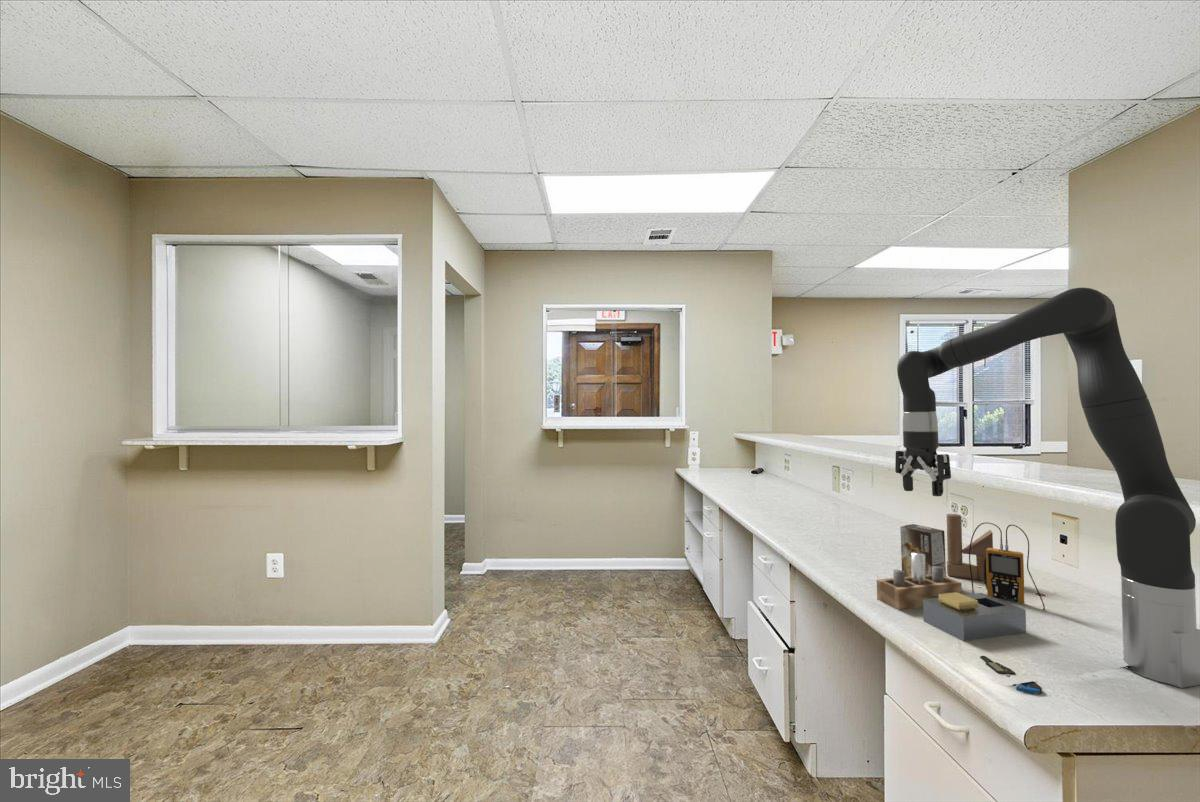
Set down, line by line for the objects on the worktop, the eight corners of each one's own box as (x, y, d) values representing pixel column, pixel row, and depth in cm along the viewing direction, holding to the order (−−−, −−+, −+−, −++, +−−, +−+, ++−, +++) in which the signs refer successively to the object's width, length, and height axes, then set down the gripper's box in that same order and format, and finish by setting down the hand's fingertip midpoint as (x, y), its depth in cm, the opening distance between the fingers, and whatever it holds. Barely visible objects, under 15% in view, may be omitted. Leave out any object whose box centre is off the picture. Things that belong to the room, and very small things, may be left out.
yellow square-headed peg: (957, 620, 112) (956, 592, 112) (978, 630, 107) (977, 600, 107) (939, 623, 111) (938, 594, 111) (959, 632, 106) (958, 602, 106)
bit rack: (937, 596, 130) (936, 562, 130) (962, 606, 123) (961, 570, 123) (877, 603, 126) (876, 568, 126) (898, 614, 119) (898, 577, 120)
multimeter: (966, 605, 124) (963, 525, 124) (971, 593, 132) (968, 519, 132) (1044, 621, 114) (1041, 535, 114) (1044, 608, 122) (1042, 527, 122)
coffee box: (948, 588, 135) (946, 530, 135) (933, 592, 133) (931, 533, 133) (914, 578, 144) (913, 523, 144) (900, 582, 141) (899, 525, 141)
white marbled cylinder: (929, 602, 124) (928, 554, 124) (919, 603, 123) (918, 555, 123) (919, 598, 126) (918, 551, 127) (909, 599, 126) (908, 552, 126)
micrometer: (1045, 687, 86) (1014, 686, 86) (1046, 698, 86) (1015, 696, 86) (998, 652, 98) (971, 651, 98) (999, 661, 98) (972, 660, 98)
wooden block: (994, 582, 139) (992, 519, 140) (947, 576, 145) (946, 515, 145) (992, 578, 142) (990, 516, 143) (946, 572, 148) (945, 512, 148)
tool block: (981, 618, 117) (981, 592, 117) (1026, 637, 107) (1025, 609, 107) (923, 625, 113) (923, 599, 113) (964, 645, 103) (963, 617, 103)
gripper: (958, 430, 119) (960, 497, 118) (909, 428, 133) (911, 488, 132) (932, 431, 117) (934, 499, 117) (885, 429, 131) (887, 490, 131)
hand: (922, 493), depth 125 cm, fingers open, 8 cm apart
